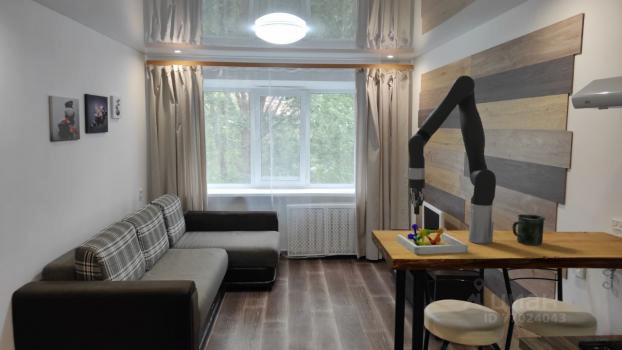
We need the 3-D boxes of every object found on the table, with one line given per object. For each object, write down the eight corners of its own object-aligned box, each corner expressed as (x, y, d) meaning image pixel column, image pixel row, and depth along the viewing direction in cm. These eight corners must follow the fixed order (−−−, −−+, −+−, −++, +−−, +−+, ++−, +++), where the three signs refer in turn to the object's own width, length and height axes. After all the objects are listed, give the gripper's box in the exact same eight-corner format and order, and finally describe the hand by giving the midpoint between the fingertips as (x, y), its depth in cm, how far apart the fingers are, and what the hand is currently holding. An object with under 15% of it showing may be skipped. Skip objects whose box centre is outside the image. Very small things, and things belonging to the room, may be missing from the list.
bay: (444, 239, 201) (444, 233, 201) (467, 252, 181) (468, 245, 180) (397, 241, 197) (397, 234, 197) (415, 254, 177) (415, 247, 177)
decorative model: (437, 242, 181) (404, 228, 188) (433, 259, 185) (400, 245, 192) (448, 229, 190) (416, 216, 198) (443, 245, 194) (412, 232, 202)
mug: (549, 245, 193) (551, 218, 192) (520, 247, 190) (522, 220, 189) (531, 239, 204) (533, 213, 202) (504, 240, 201) (505, 215, 199)
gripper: (430, 178, 197) (430, 216, 199) (418, 175, 210) (418, 211, 212) (414, 179, 196) (414, 217, 198) (403, 176, 209) (403, 212, 211)
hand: (416, 214), depth 205 cm, fingers closed
